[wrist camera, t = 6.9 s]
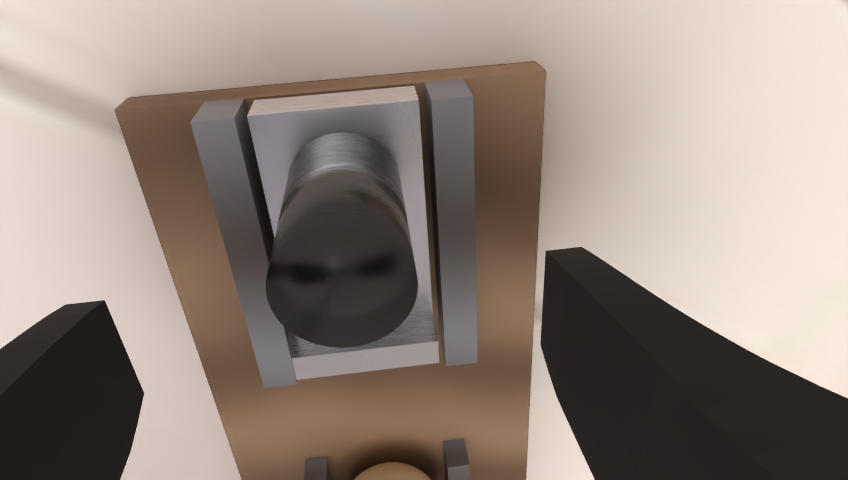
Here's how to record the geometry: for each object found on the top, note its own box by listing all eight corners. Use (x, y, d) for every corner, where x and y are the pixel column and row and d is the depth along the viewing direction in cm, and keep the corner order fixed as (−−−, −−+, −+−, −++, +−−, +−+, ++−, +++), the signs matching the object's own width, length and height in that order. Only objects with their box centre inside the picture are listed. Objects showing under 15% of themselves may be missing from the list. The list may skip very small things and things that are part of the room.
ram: (429, 310, 19) (457, 460, 14) (302, 325, 18) (285, 482, 13) (414, 85, 15) (445, 181, 10) (254, 100, 15) (206, 205, 10)
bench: (518, 500, 26) (547, 605, 22) (271, 534, 26) (257, 648, 22) (535, 61, 16) (593, 114, 12) (127, 98, 15) (53, 166, 12)
